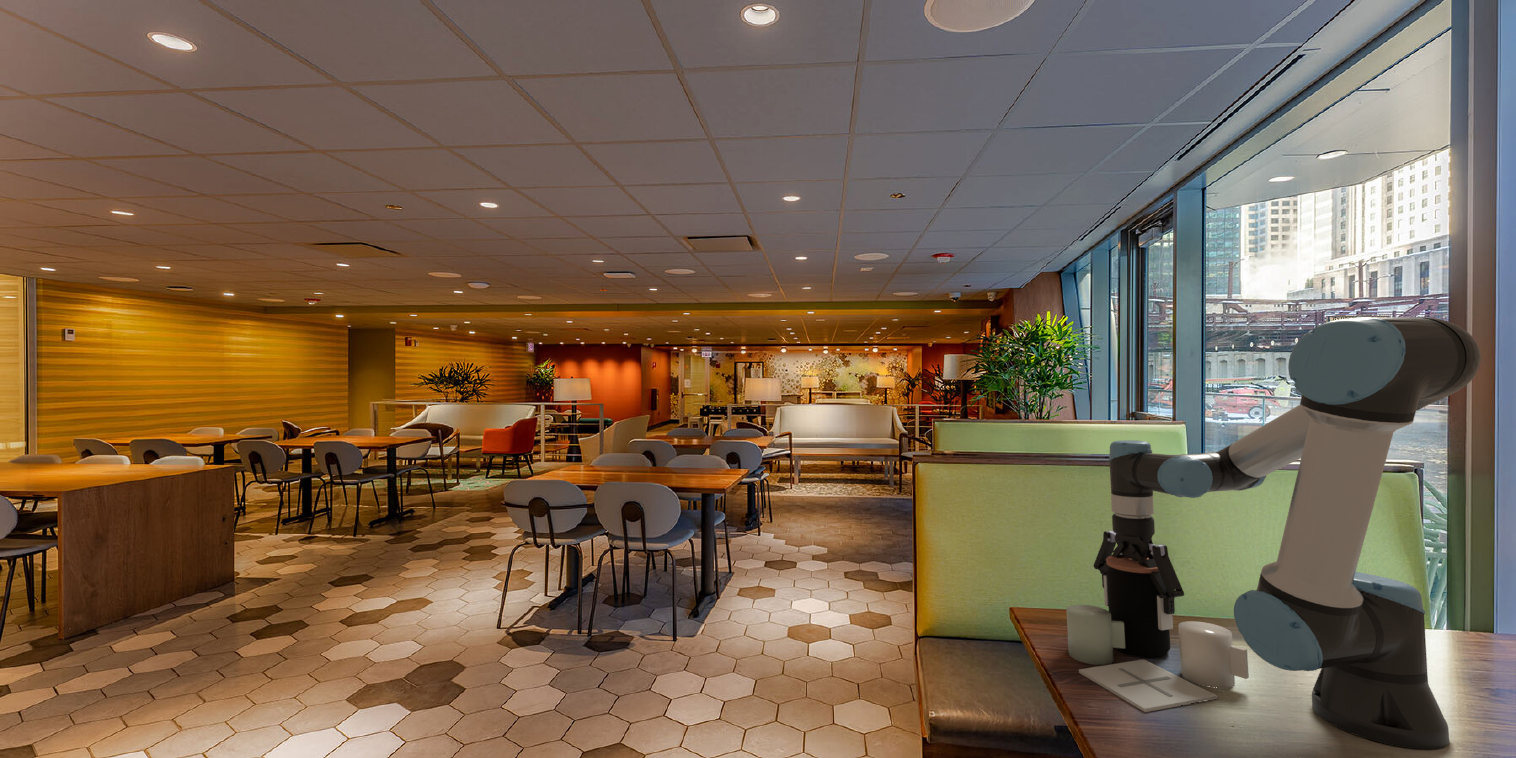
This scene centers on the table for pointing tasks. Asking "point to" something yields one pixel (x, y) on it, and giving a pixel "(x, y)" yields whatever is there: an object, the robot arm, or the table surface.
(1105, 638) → the mug sage
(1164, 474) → the robot arm
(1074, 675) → the table surface
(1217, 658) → the mug cream
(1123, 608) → the coffee jar
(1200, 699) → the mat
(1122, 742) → the table surface
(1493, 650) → the table surface
